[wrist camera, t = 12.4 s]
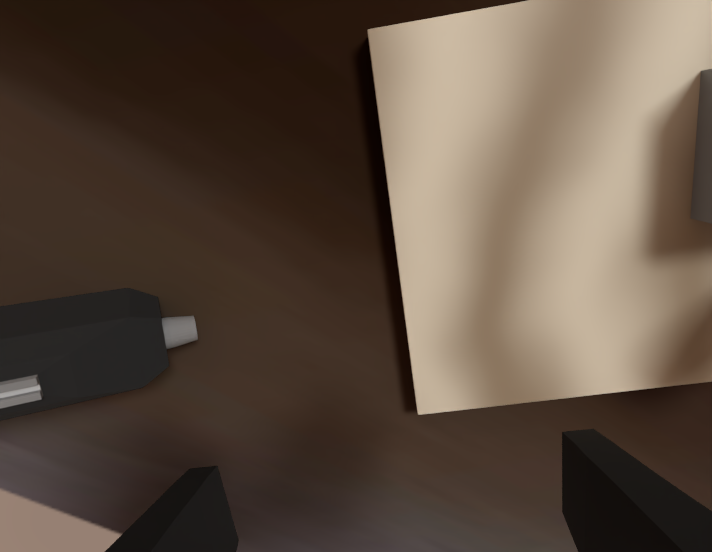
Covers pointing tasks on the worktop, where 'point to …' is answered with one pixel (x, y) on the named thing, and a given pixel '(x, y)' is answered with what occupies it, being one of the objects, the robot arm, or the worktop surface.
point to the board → (547, 198)
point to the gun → (83, 348)
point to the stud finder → (703, 153)
